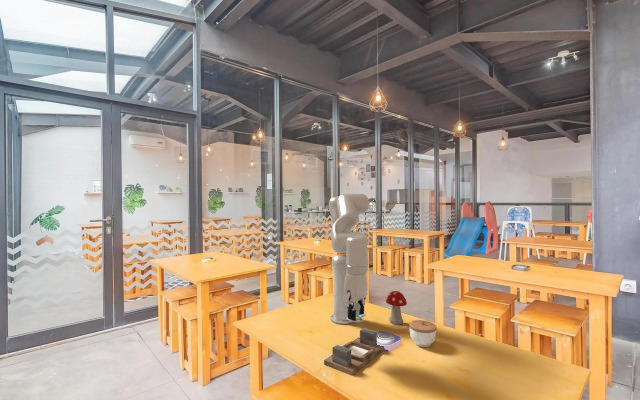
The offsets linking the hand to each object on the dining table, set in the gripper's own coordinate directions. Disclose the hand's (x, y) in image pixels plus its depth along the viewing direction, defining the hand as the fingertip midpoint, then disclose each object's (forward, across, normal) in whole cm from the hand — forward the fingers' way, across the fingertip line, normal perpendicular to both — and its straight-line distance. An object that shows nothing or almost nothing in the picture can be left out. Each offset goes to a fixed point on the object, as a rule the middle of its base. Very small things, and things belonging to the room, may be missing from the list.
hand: (356, 317), depth 125 cm
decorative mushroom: (+15, -40, -2) cm, 43 cm away
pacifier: (+1, +1, 0) cm, 1 cm away
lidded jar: (+15, -26, +16) cm, 34 cm away
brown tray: (+15, 0, 0) cm, 15 cm away
